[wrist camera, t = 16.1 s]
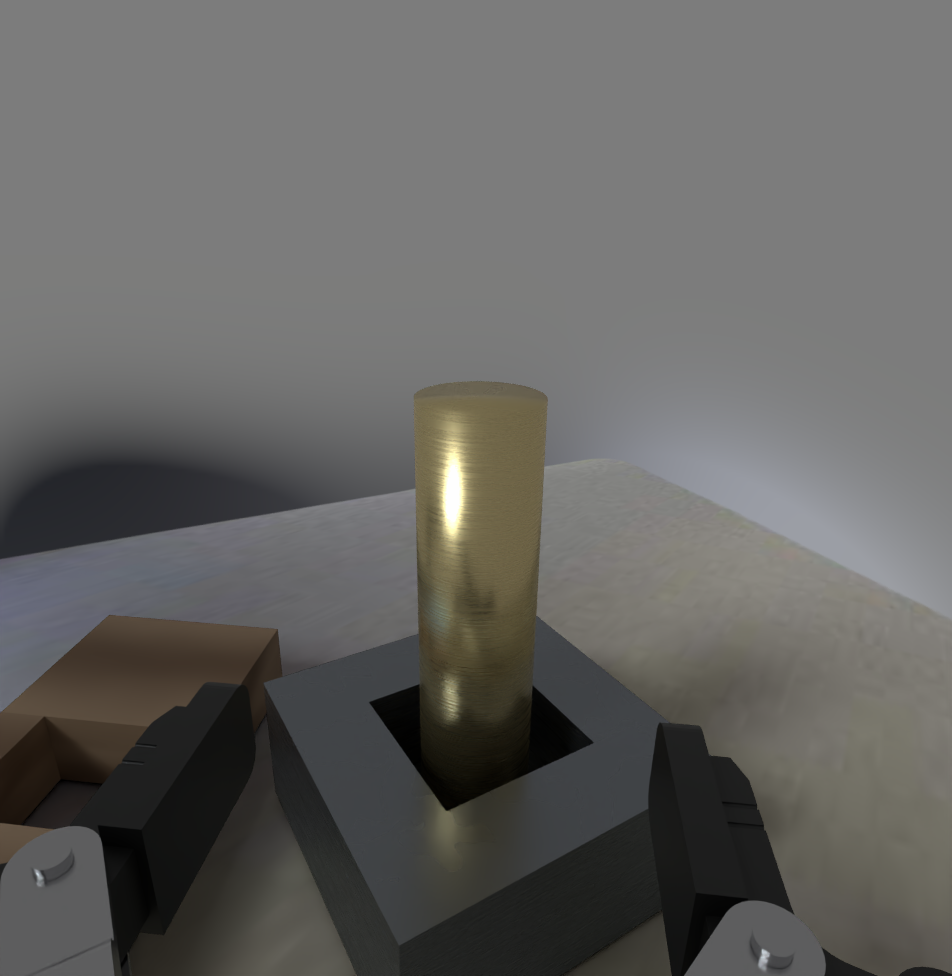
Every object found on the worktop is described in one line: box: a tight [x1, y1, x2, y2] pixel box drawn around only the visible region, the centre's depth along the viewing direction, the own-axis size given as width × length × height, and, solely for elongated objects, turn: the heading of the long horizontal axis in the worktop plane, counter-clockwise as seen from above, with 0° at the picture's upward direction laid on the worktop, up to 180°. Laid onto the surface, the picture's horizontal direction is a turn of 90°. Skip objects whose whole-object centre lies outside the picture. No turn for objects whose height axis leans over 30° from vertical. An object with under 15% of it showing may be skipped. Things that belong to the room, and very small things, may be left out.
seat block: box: [263, 616, 711, 976], centre depth 24 cm, size 11×11×5 cm
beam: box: [0, 615, 282, 864], centre depth 24 cm, size 18×8×3 cm, turn 174°
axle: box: [414, 381, 548, 811], centre depth 22 cm, size 4×4×16 cm
